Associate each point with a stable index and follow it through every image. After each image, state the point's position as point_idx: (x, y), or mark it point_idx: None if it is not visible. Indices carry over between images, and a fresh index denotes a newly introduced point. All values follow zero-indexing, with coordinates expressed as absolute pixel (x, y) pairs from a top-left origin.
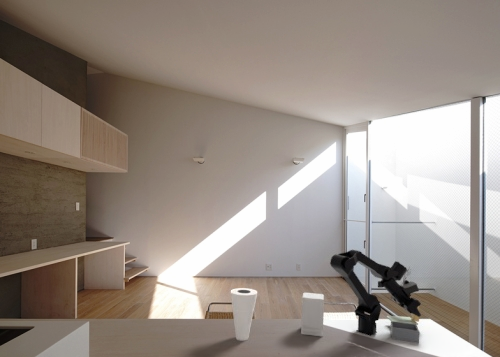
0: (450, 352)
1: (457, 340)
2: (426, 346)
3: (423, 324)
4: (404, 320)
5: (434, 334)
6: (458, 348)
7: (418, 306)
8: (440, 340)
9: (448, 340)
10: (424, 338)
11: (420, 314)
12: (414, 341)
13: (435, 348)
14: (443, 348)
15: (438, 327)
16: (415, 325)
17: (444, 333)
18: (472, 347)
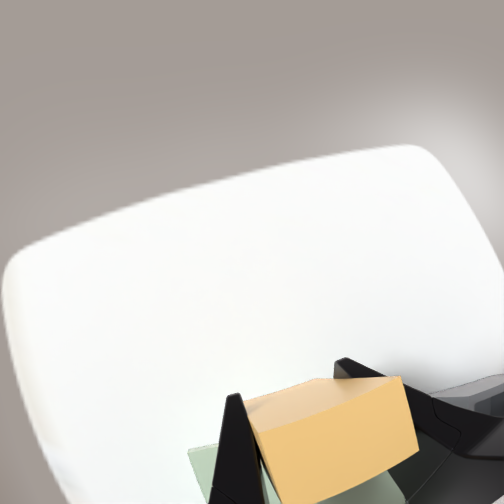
0: (494, 252)
1: (346, 173)
2: (495, 342)
3: (106, 308)
4: (337, 500)
5: (312, 275)
6: (444, 206)
7: (389, 390)
8: (400, 261)
9: (375, 217)
10: (416, 350)
11: (358, 363)
12: (497, 395)
13: (495, 305)
14: (479, 270)
15: (142, 216)
16: (478, 401)
17: (258, 206)
18: (396, 147)
